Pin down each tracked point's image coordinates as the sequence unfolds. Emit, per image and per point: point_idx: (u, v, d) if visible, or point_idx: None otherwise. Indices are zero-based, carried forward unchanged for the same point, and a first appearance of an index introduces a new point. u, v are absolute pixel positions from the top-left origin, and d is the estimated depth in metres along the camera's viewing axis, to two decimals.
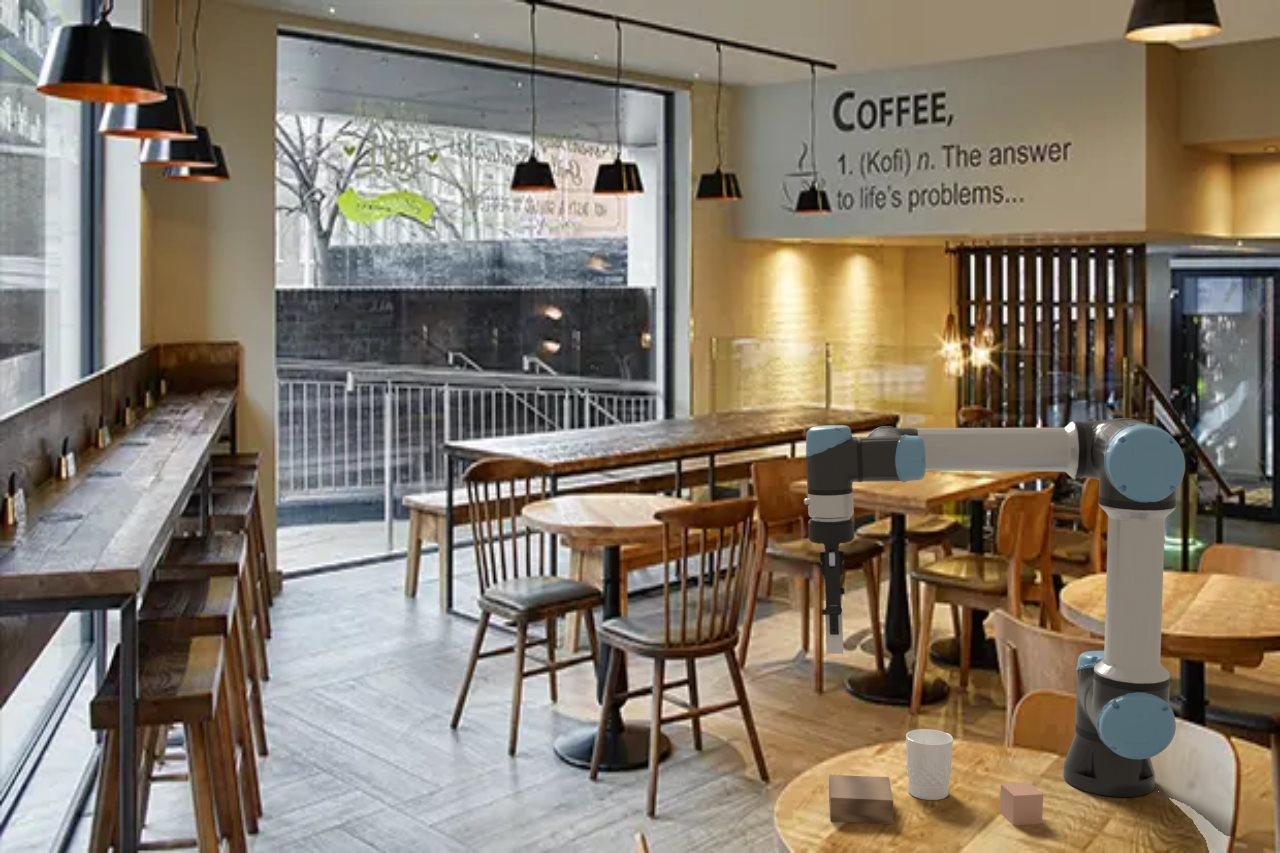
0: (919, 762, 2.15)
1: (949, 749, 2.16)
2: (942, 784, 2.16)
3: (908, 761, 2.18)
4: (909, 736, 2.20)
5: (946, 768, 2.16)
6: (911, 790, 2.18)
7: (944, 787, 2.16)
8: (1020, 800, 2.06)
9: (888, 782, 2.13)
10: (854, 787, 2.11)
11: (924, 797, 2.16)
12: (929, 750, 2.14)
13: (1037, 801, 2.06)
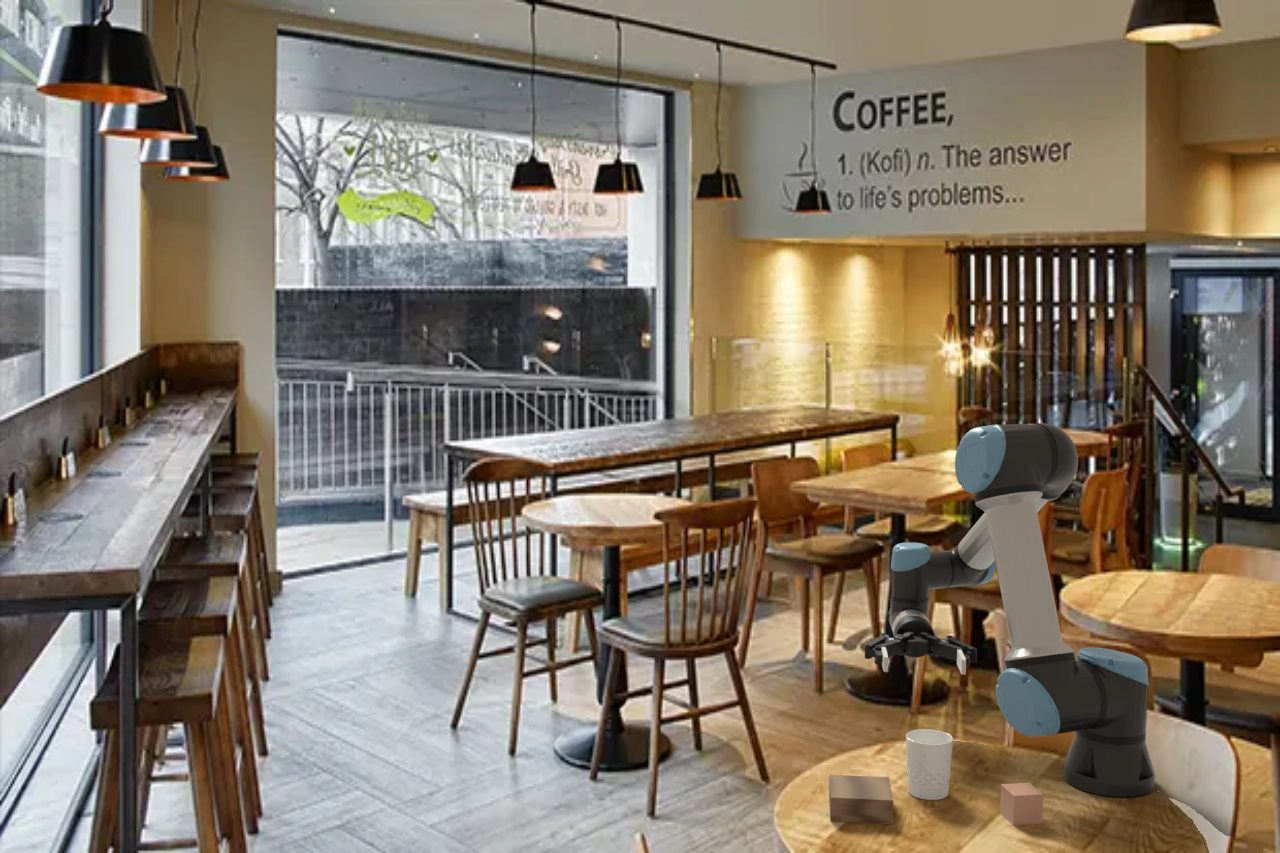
0: (919, 762, 2.15)
1: (949, 749, 2.16)
2: (942, 784, 2.16)
3: (908, 761, 2.18)
4: (909, 736, 2.20)
5: (946, 768, 2.16)
6: (911, 790, 2.18)
7: (944, 787, 2.16)
8: (1020, 800, 2.06)
9: (888, 782, 2.13)
10: (854, 787, 2.11)
11: (924, 797, 2.16)
12: (929, 750, 2.14)
13: (1037, 801, 2.06)
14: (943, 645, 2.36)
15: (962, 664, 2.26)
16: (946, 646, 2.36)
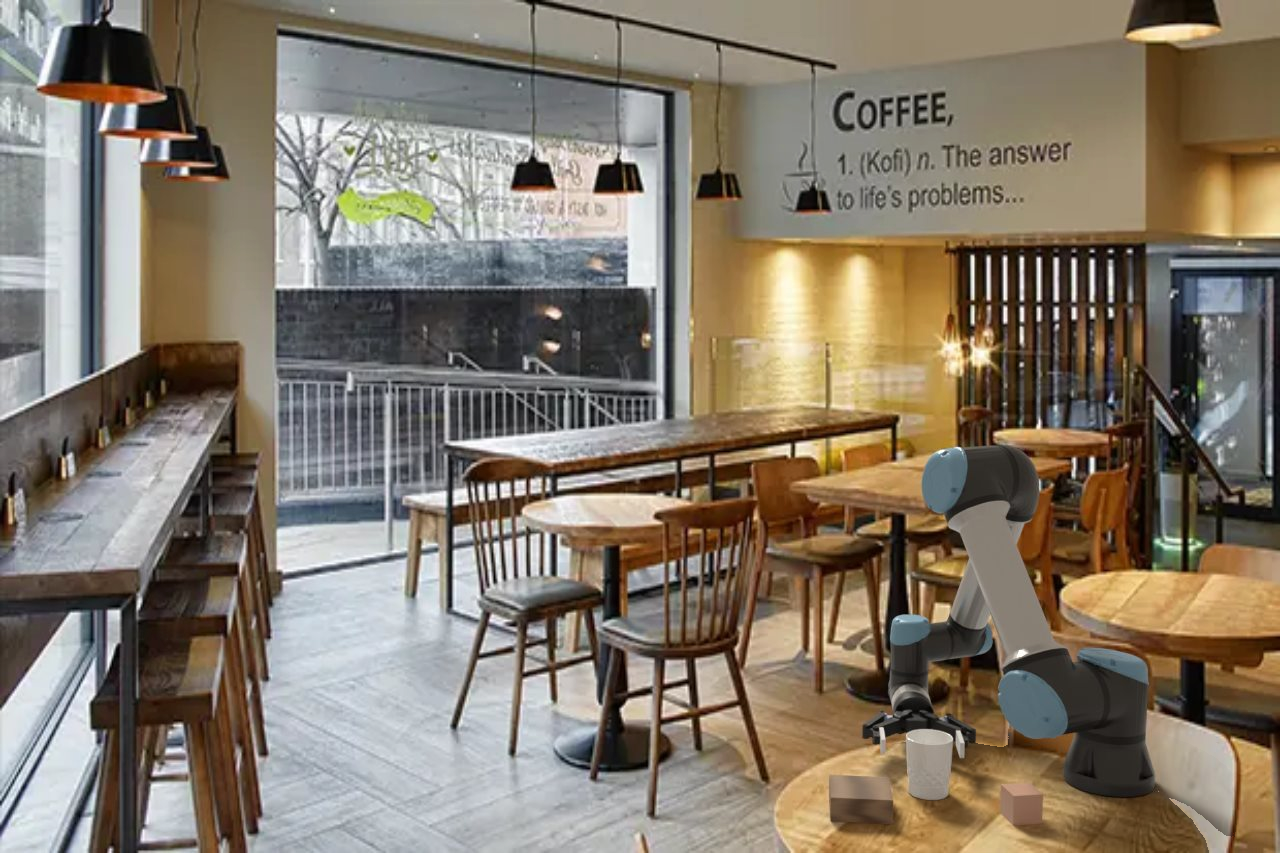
0: (919, 762, 2.15)
1: (949, 749, 2.16)
2: (942, 784, 2.16)
3: (908, 761, 2.18)
4: (909, 736, 2.20)
5: (946, 768, 2.16)
6: (911, 790, 2.18)
7: (944, 787, 2.16)
8: (1020, 800, 2.06)
9: (888, 782, 2.13)
10: (854, 787, 2.11)
11: (924, 797, 2.16)
12: (929, 750, 2.14)
13: (1037, 801, 2.06)
14: (942, 725, 2.33)
15: (960, 747, 2.23)
16: (945, 726, 2.33)
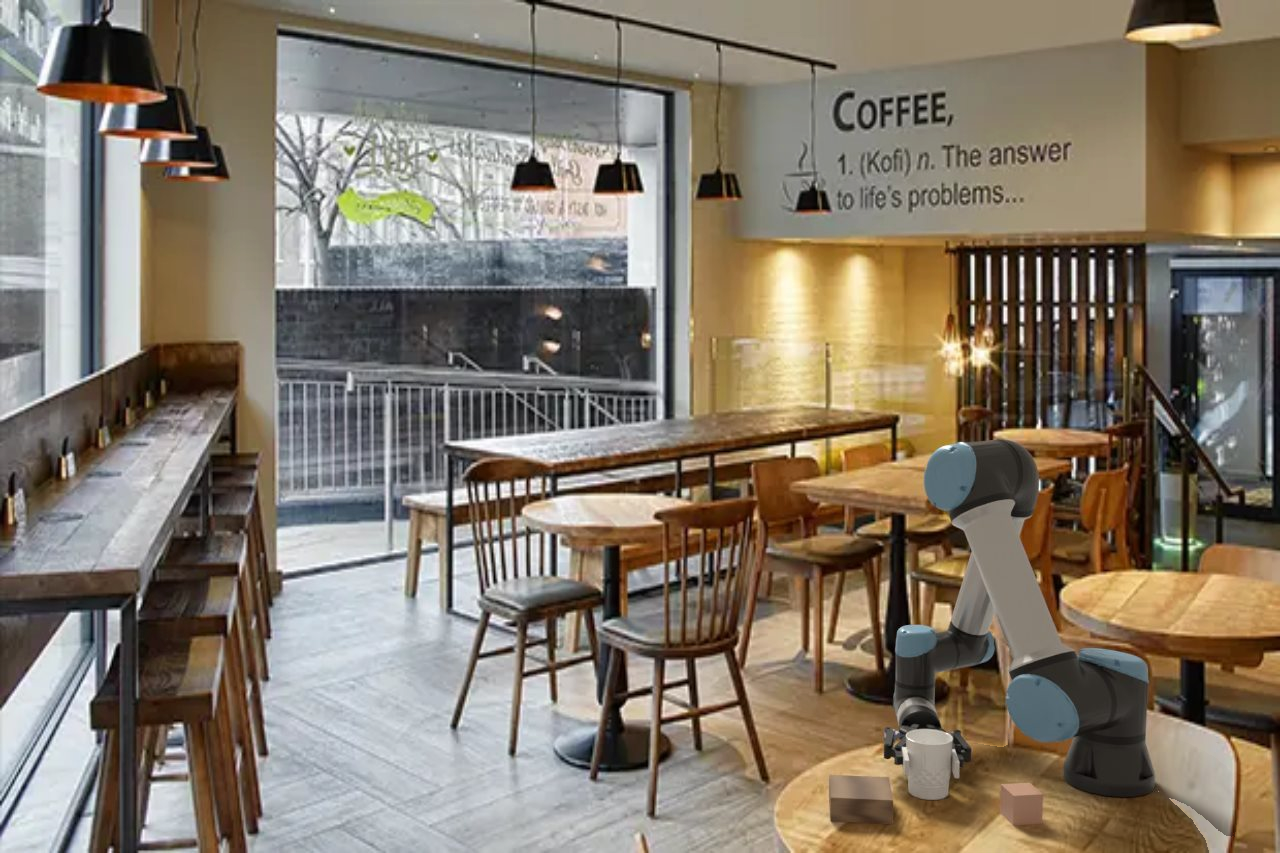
0: (919, 761, 2.15)
1: (949, 749, 2.16)
2: (942, 784, 2.16)
3: None
4: (909, 736, 2.20)
5: (946, 768, 2.16)
6: (911, 790, 2.18)
7: (944, 787, 2.16)
8: (1020, 800, 2.06)
9: (888, 782, 2.13)
10: (854, 787, 2.11)
11: (924, 797, 2.16)
12: (929, 750, 2.14)
13: (1037, 801, 2.06)
14: None
15: (955, 767, 2.13)
16: None
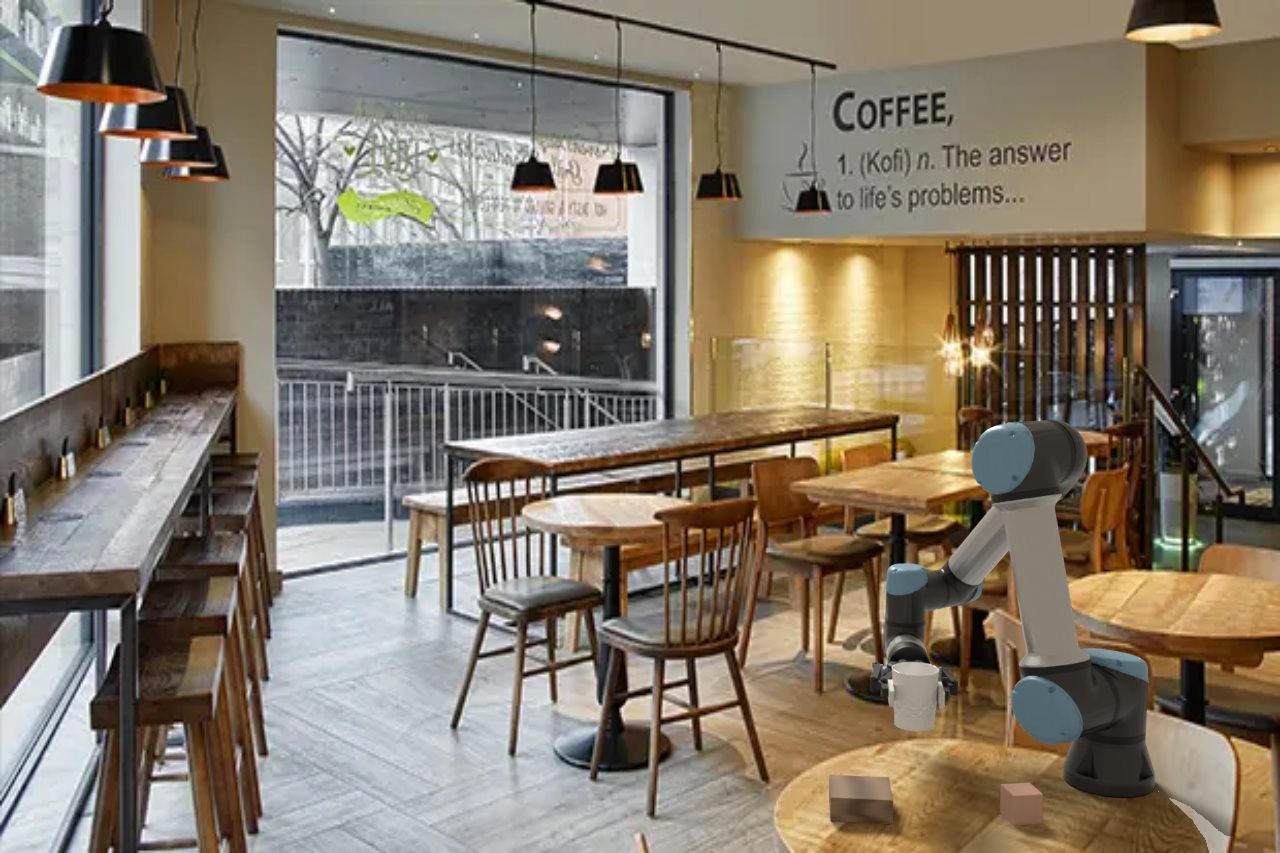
0: (905, 693, 2.14)
1: (935, 680, 2.14)
2: (928, 716, 2.14)
3: (894, 693, 2.16)
4: (895, 668, 2.19)
5: (932, 699, 2.14)
6: (897, 722, 2.16)
7: (930, 719, 2.15)
8: (1020, 800, 2.06)
9: (888, 782, 2.13)
10: (854, 787, 2.11)
11: (909, 729, 2.15)
12: (914, 681, 2.13)
13: (1037, 801, 2.06)
14: None
15: (941, 698, 2.12)
16: None
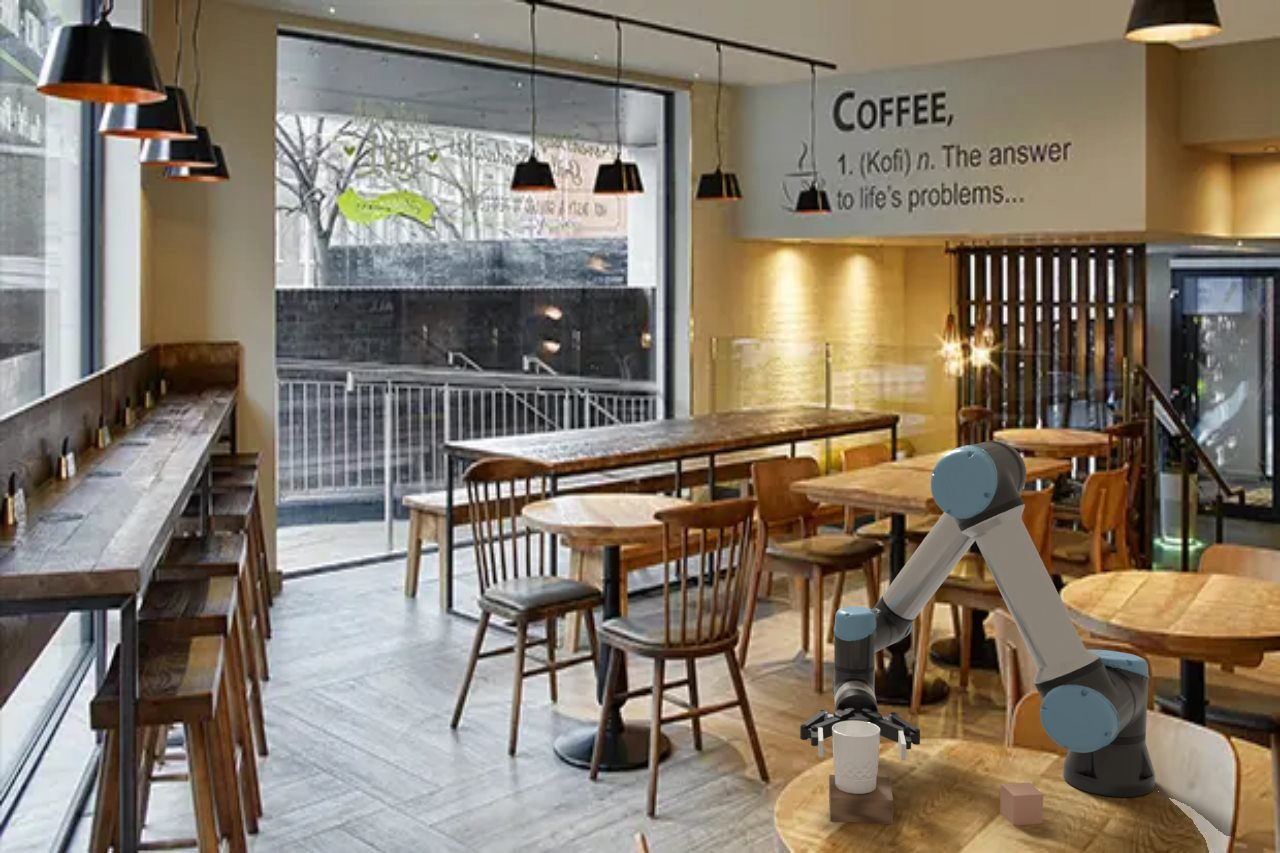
0: (845, 754, 2.08)
1: (876, 741, 2.08)
2: (869, 778, 2.08)
3: (834, 754, 2.10)
4: (836, 728, 2.13)
5: (873, 761, 2.08)
6: (837, 784, 2.10)
7: (871, 780, 2.09)
8: (1020, 800, 2.06)
9: (888, 782, 2.13)
10: None
11: (850, 791, 2.08)
12: (854, 742, 2.07)
13: (1037, 801, 2.06)
14: (885, 724, 2.17)
15: (902, 749, 2.07)
16: (888, 726, 2.16)
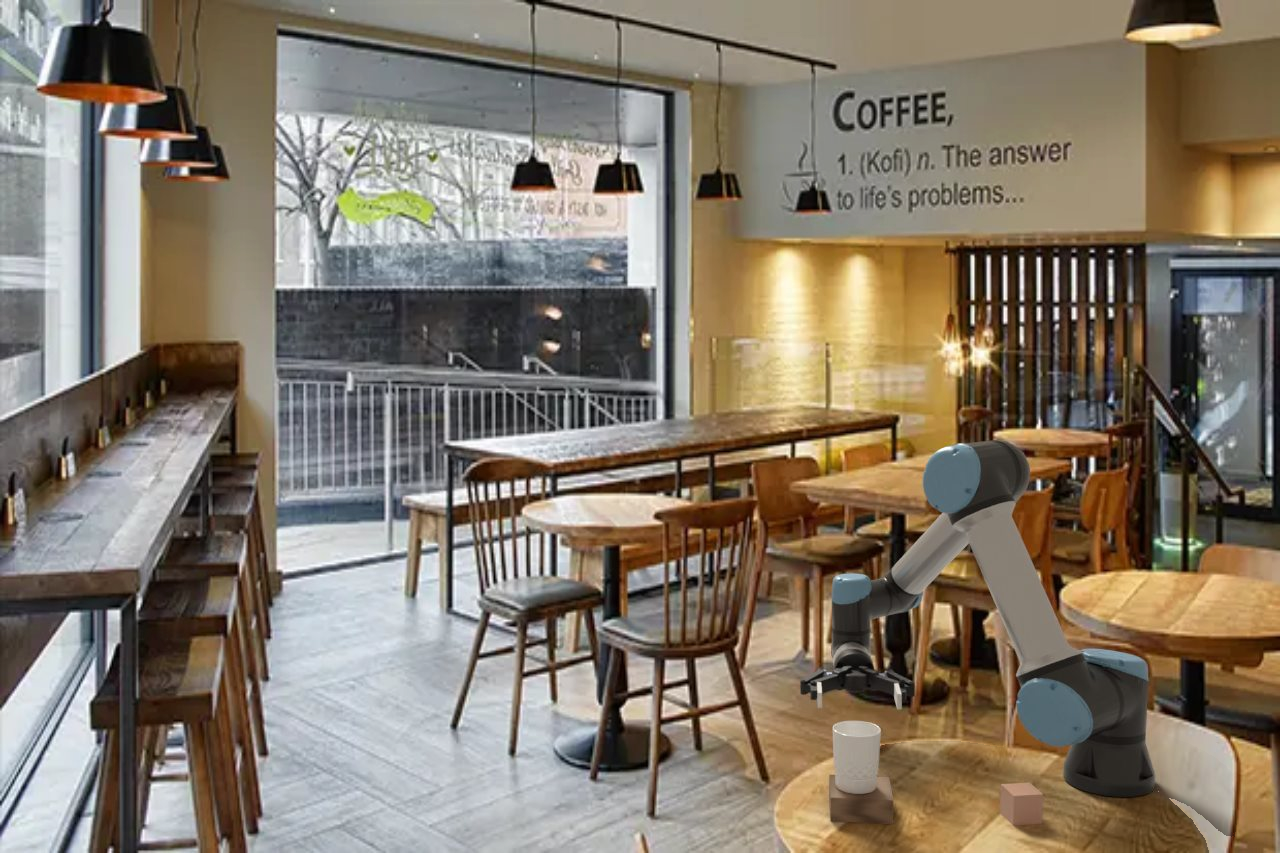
0: (845, 754, 2.08)
1: (876, 741, 2.08)
2: (869, 778, 2.08)
3: (834, 754, 2.10)
4: (836, 728, 2.13)
5: (873, 761, 2.08)
6: (837, 784, 2.10)
7: (871, 780, 2.09)
8: (1020, 800, 2.06)
9: (888, 782, 2.13)
10: None
11: (850, 791, 2.08)
12: (855, 742, 2.07)
13: (1037, 801, 2.06)
14: (881, 679, 2.30)
15: (898, 699, 2.20)
16: (884, 680, 2.30)
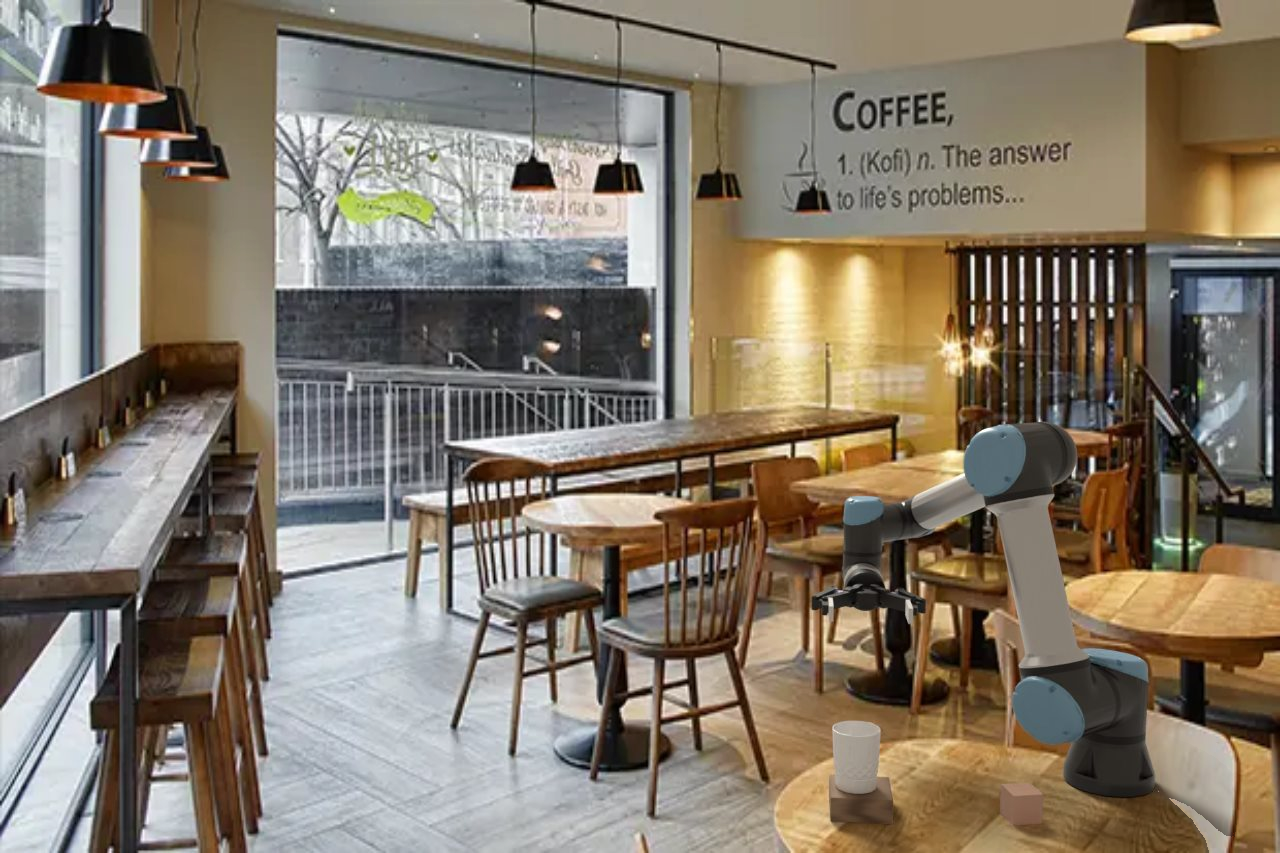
0: (845, 754, 2.08)
1: (876, 741, 2.08)
2: (869, 778, 2.08)
3: (834, 754, 2.10)
4: (836, 728, 2.13)
5: (873, 761, 2.08)
6: (837, 784, 2.10)
7: (871, 780, 2.09)
8: (1020, 800, 2.06)
9: (888, 782, 2.13)
10: None
11: (850, 791, 2.08)
12: (855, 742, 2.07)
13: (1037, 801, 2.06)
14: (892, 596, 2.30)
15: (909, 613, 2.20)
16: (895, 597, 2.30)
